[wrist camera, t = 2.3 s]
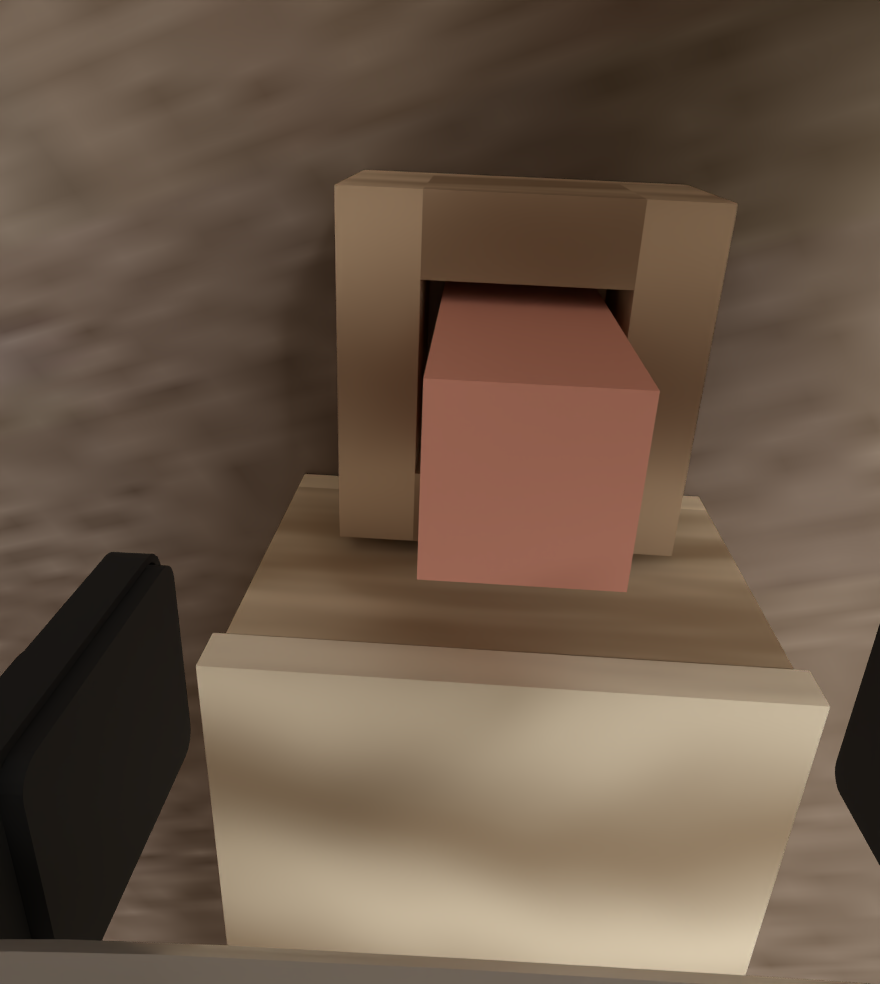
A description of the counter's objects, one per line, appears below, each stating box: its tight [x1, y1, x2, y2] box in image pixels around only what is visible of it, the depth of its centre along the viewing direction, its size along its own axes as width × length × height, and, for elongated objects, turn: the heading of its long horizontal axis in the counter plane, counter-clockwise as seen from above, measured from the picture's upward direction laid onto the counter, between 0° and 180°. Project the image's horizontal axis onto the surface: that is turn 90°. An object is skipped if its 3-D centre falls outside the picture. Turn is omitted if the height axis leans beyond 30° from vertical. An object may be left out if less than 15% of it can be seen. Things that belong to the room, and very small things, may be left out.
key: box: [417, 281, 660, 592], centre depth 19 cm, size 4×4×10 cm
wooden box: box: [226, 170, 793, 669], centre depth 25 cm, size 30×13×9 cm, turn 178°
